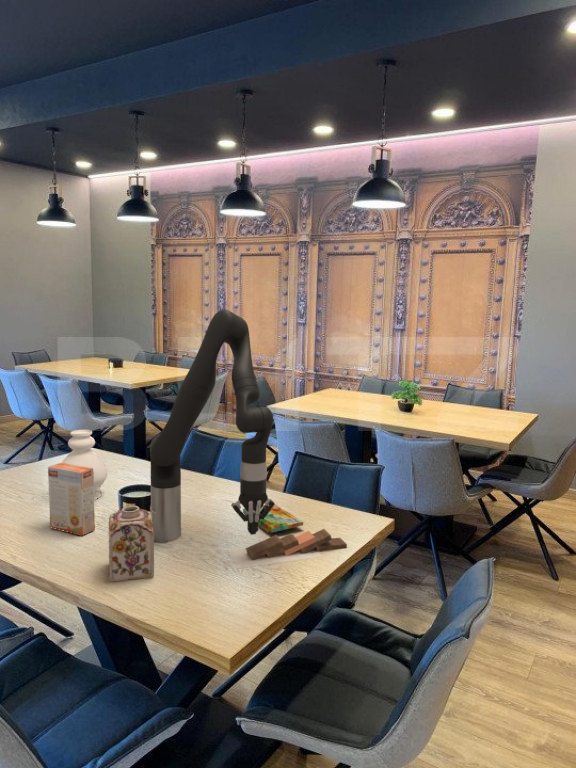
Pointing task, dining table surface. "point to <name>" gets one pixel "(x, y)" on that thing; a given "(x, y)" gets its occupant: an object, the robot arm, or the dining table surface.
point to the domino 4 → (318, 540)
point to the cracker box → (71, 498)
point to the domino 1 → (264, 547)
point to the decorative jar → (131, 544)
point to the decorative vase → (86, 457)
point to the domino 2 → (284, 545)
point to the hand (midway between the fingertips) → (252, 533)
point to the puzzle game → (277, 520)
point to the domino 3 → (302, 542)
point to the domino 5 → (331, 545)
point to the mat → (244, 559)
